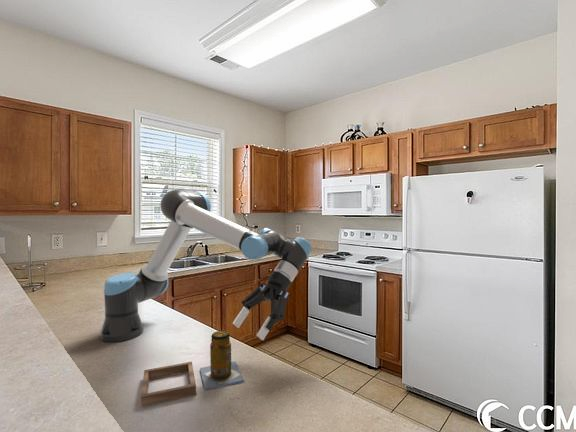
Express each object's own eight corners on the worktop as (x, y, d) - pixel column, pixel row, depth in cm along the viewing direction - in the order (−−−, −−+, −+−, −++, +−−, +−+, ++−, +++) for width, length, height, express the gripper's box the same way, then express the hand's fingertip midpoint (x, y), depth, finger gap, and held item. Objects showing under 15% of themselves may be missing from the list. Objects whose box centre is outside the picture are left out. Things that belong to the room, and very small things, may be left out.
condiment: (224, 365, 98) (223, 327, 98) (241, 375, 93) (240, 334, 92) (203, 374, 93) (202, 334, 93) (220, 385, 87) (219, 342, 87)
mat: (200, 369, 97) (200, 367, 97) (235, 363, 101) (235, 361, 101) (204, 390, 86) (204, 388, 86) (244, 381, 90) (244, 379, 90)
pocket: (144, 378, 93) (144, 370, 93) (192, 369, 97) (191, 361, 97) (140, 407, 79) (140, 397, 79) (196, 394, 84) (196, 385, 84)
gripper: (314, 289, 101) (278, 350, 92) (267, 277, 120) (233, 326, 111) (301, 275, 98) (263, 337, 88) (255, 265, 116) (219, 315, 107)
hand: (246, 331), depth 99 cm, fingers open, 13 cm apart
